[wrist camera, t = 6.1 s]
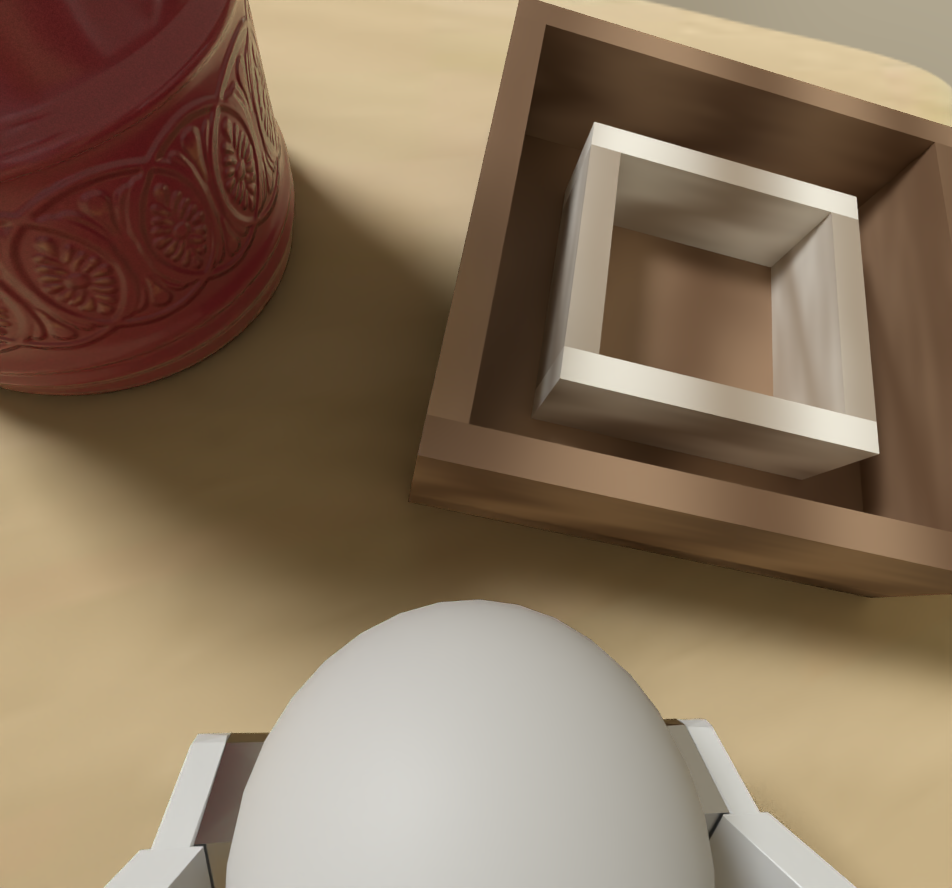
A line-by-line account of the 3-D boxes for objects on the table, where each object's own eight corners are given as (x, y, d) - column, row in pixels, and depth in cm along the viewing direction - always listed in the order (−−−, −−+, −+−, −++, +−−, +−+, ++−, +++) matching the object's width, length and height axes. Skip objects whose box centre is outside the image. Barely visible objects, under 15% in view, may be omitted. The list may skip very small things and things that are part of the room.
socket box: (408, 501, 17) (417, 454, 12) (491, 128, 22) (520, -6, 17) (870, 597, 18) (1040, 589, 13) (842, 227, 23) (956, 129, 19)
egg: (274, 795, 14) (-98, 1337, 3) (384, 574, 16) (362, 489, 5) (489, 897, 14) (777, 1761, 3) (570, 663, 16) (904, 745, 5)
